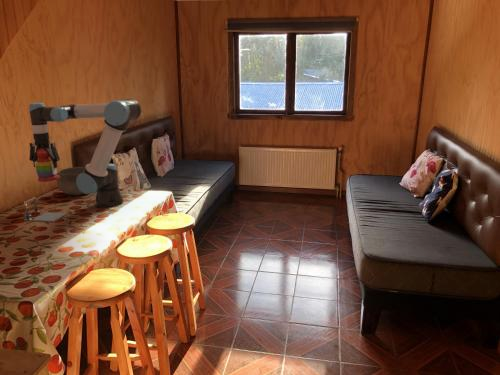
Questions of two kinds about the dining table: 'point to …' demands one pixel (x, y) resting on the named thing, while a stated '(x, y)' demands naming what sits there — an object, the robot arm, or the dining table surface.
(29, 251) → the dining table surface
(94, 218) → the dining table surface
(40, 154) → the stacking bear
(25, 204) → the miniature post railing
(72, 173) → the bowl
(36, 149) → the robot arm
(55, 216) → the mat
